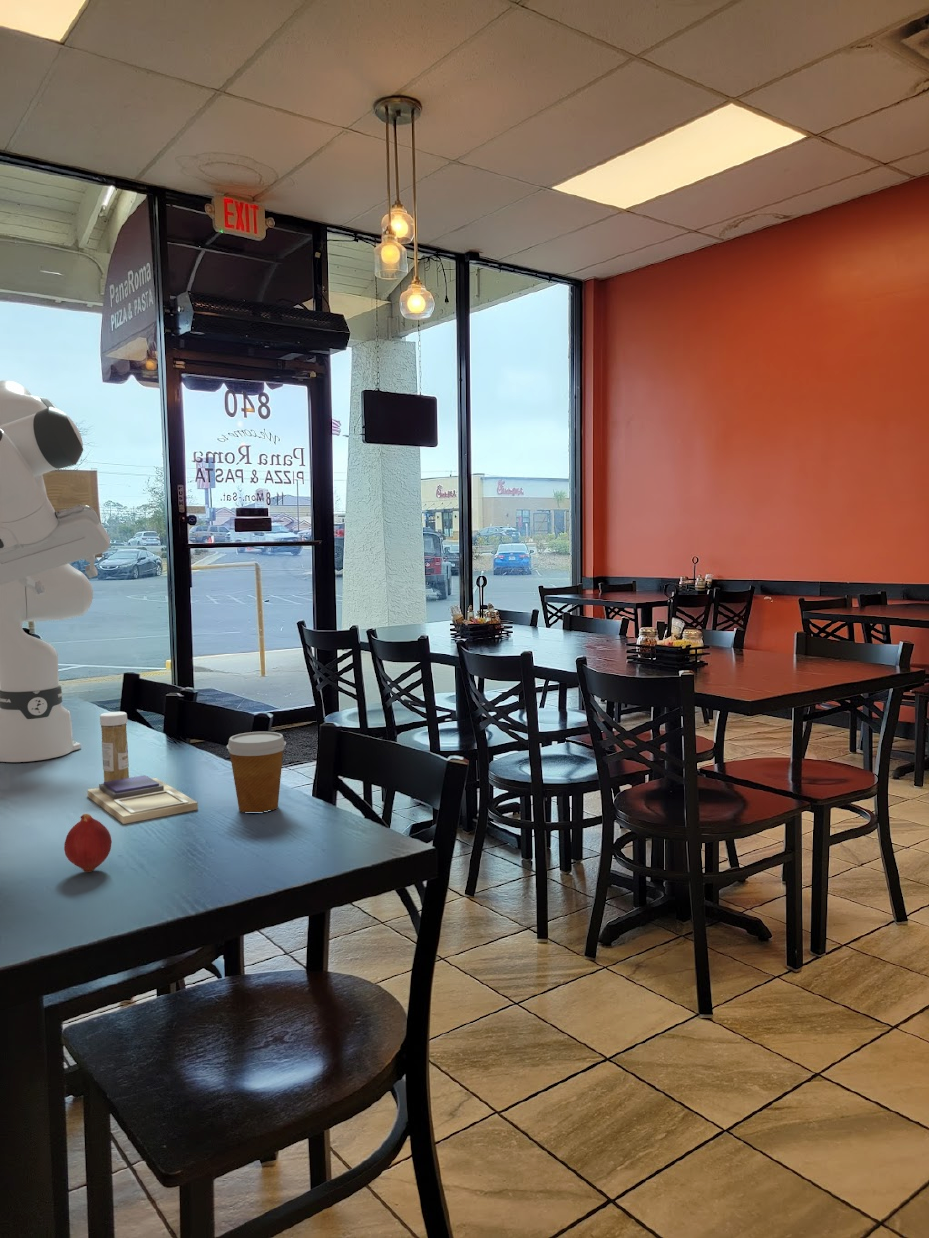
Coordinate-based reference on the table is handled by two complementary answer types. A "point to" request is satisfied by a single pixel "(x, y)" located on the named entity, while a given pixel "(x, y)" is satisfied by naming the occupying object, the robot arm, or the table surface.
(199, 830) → the table surface
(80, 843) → the onion
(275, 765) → the disposable coffee cup
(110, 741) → the sprinkles bottle
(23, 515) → the robot arm
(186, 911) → the table surface
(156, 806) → the stamp station
